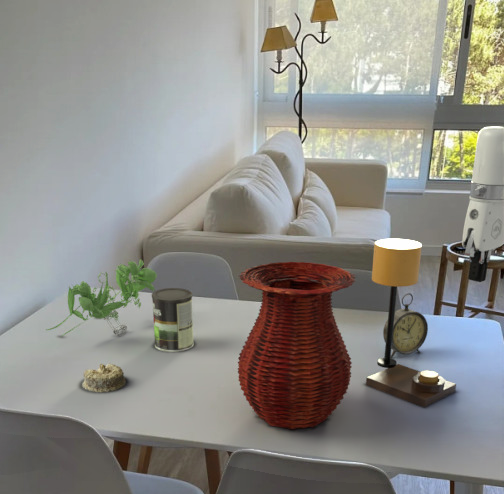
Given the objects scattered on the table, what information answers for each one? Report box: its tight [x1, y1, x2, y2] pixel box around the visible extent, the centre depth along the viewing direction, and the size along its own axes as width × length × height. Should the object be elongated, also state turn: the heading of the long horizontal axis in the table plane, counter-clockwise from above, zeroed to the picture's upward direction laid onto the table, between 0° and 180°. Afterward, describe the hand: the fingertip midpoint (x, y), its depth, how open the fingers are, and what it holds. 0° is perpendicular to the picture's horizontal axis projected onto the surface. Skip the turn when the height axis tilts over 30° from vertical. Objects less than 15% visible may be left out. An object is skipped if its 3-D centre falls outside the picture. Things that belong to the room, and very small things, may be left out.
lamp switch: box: [419, 370, 440, 384], centre depth 156 cm, size 4×4×2 cm
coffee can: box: [151, 287, 194, 353], centre depth 182 cm, size 10×10×14 cm
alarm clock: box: [382, 292, 429, 359], centre depth 176 cm, size 11×5×16 cm, turn 114°
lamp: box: [371, 238, 423, 369], centre depth 157 cm, size 10×10×28 cm
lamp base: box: [365, 363, 457, 409], centre depth 160 cm, size 16×12×4 cm
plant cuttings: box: [45, 259, 158, 337], centre depth 191 cm, size 35×17×22 cm
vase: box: [237, 261, 356, 430], centre depth 142 cm, size 23×24×30 cm
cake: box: [81, 363, 127, 393], centre depth 161 cm, size 10×10×5 cm
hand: (476, 280), depth 151 cm, fingers closed
